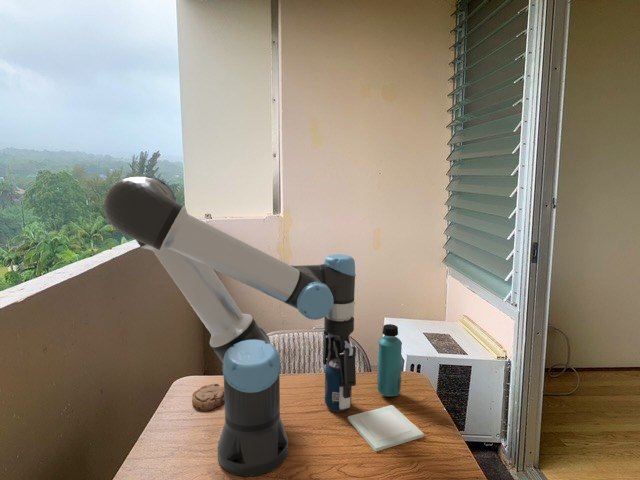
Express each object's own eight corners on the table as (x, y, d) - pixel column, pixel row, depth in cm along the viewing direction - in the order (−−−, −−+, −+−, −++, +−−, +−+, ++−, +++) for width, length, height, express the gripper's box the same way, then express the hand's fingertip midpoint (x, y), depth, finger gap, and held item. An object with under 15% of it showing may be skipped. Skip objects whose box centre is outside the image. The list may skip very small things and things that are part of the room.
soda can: (327, 397, 112) (327, 355, 110) (352, 400, 111) (353, 358, 109) (322, 411, 105) (322, 367, 103) (349, 414, 104) (350, 370, 102)
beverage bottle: (400, 403, 109) (403, 331, 106) (375, 400, 111) (377, 329, 108) (400, 390, 116) (403, 322, 112) (377, 388, 117) (379, 320, 114)
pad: (375, 451, 90) (375, 448, 90) (347, 419, 102) (347, 416, 102) (423, 436, 96) (423, 433, 95) (392, 407, 107) (392, 404, 107)
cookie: (187, 413, 105) (187, 402, 104) (195, 391, 115) (194, 381, 115) (227, 410, 106) (227, 400, 105) (231, 389, 116) (231, 379, 116)
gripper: (372, 327, 97) (369, 417, 100) (335, 302, 115) (334, 380, 118) (344, 332, 94) (342, 424, 97) (310, 306, 112) (310, 385, 115)
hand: (337, 400), depth 108 cm, fingers closed on soda can, 7 cm apart
